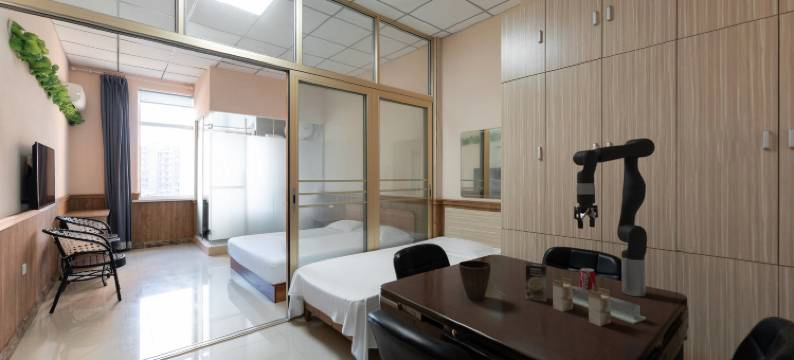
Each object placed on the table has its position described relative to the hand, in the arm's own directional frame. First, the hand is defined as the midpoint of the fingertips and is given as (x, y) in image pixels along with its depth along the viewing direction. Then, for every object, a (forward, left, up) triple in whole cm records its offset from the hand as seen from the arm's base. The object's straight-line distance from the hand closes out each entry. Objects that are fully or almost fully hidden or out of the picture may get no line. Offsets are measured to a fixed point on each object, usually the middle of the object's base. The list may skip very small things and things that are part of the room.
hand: (586, 227), depth 154 cm
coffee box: (+20, -12, -33) cm, 41 cm away
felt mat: (+6, +10, -33) cm, 35 cm away
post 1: (+20, +2, -33) cm, 39 cm away
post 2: (+20, +18, -33) cm, 43 cm away
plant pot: (+44, -27, -33) cm, 61 cm away
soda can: (-6, -4, -33) cm, 34 cm away
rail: (+6, +10, -32) cm, 35 cm away
